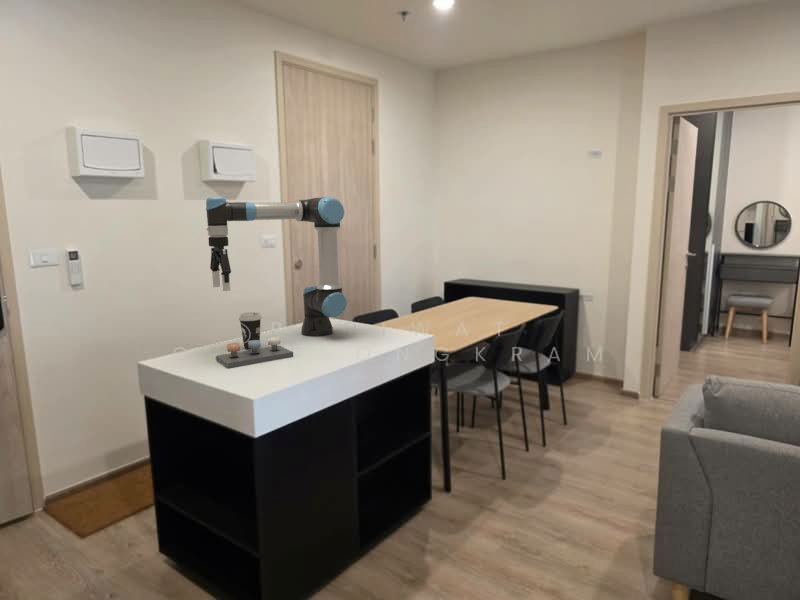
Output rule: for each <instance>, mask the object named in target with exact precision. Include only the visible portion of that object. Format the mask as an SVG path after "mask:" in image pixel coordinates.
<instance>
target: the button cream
mask: <svg viewBox="0 0 800 600" xmlns="http://www.w3.org/2000/svg"><path fill="white" fill-rule="evenodd" d="M267 340H268V341H267V342H268V345H269V346H270V347H272V349H277V348H278V347H277V346H278V345H279V346H280V345H281V337H279V336H271V337H268V338H267Z"/></svg>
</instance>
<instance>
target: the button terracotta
mask: <svg viewBox="0 0 800 600" xmlns="http://www.w3.org/2000/svg"><path fill="white" fill-rule="evenodd" d="M226 351H227V352H228V353H231V356H236V355H237V352H241V345H240V343H238V342H231V343H228V344H227V345H226Z"/></svg>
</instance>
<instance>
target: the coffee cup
mask: <svg viewBox="0 0 800 600" xmlns="http://www.w3.org/2000/svg"><path fill="white" fill-rule="evenodd" d="M261 319H262V315H261V314H260V313H259V312H256V311H255V312H243V313H240V315H239V318H238V321H239V323H240V330H241V335H242V341H243V342H242V343H243V348H244V350H247V351H248V350H252V349H251V348H248V341H250V340H260V341H261Z"/></svg>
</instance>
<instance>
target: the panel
mask: <svg viewBox="0 0 800 600" xmlns="http://www.w3.org/2000/svg"><path fill="white" fill-rule="evenodd" d="M277 347H278V348H277V349H272V347H271V346H267V347H260V348H258V352H252V350H248V349H247V350H244V351H243V350H240V351H237V355H236V356H231V352H228V353H223V354H217V355H215V361H216V362H218V363H219V364H221V365H223V366H224V368H226V369H231V368H238V367H244V366H249V365H255V364H261V363H265V362H272V361H276V360H282V359H287V358H294V351H293V350H290V349H287V348H286V347H283V346H281V345H280V344H279V345H277Z"/></svg>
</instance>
